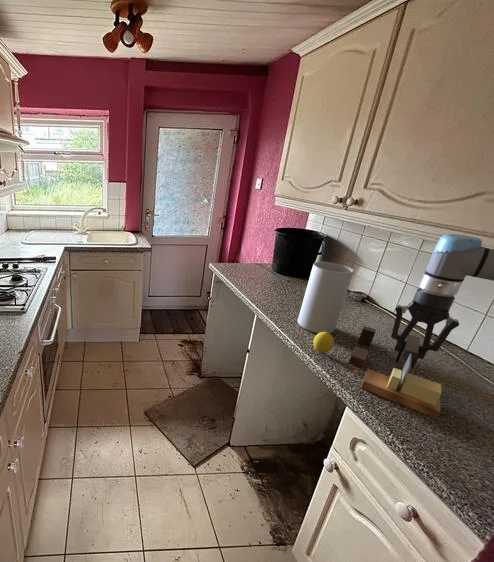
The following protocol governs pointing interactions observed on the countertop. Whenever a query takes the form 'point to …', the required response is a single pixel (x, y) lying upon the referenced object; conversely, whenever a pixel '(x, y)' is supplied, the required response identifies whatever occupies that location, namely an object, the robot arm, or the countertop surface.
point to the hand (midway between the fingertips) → (403, 363)
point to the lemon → (323, 342)
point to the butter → (421, 389)
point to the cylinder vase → (324, 296)
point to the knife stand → (360, 353)
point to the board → (397, 394)
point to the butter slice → (394, 379)
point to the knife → (410, 354)
